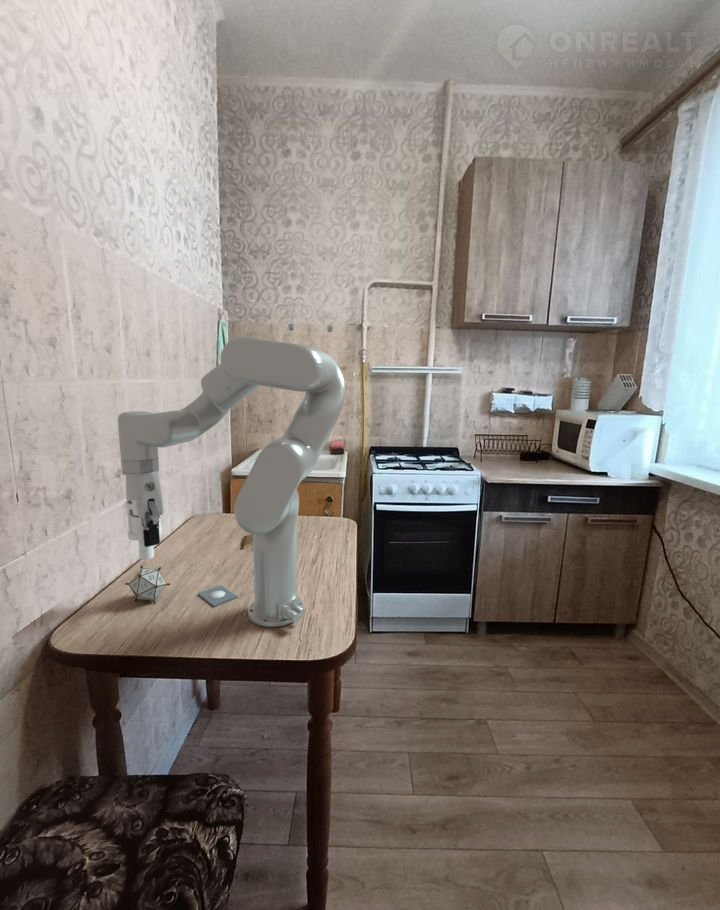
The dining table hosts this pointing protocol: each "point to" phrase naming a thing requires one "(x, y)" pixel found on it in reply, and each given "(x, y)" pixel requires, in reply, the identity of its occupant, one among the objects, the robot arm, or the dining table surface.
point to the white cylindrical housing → (139, 530)
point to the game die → (147, 584)
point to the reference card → (217, 595)
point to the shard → (248, 541)
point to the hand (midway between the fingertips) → (145, 540)
